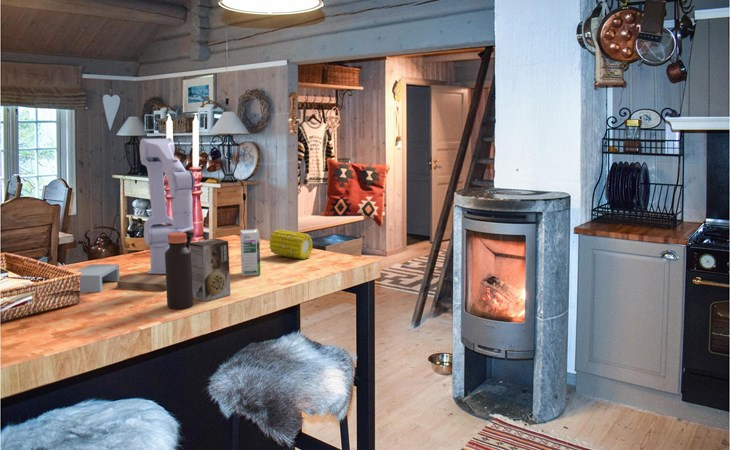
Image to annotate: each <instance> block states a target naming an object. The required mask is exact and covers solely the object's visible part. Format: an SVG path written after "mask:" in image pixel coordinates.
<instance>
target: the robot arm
mask: <svg viewBox="0 0 730 450" xmlns="http://www.w3.org/2000/svg"><path fill="white" fill-rule="evenodd" d="M175 149H176V148H175V142H174V140H173V139H172V138H171V137H168V138H141V140H140V141H139V157H140V163H141V165H143V166H145V167H146V170H147V178H148V186H149V197H150V198H149V199H150V209H151V216H150V217H149V218H148V219H146V221H145V222H143V223H144V224H143V240H144V242H145V244H146V245H147V246H149V256H150V257H149V258H150V269H149V270H148V271H147V272H146V274H147V275H148V274H150V275H151V274H153V275H157V274H158V275H159V274H160V275H166V269H165V252H166V251H167V250H168V249H169V244H168V234H170V233H177V232H181V233H186V234H187V243H186V247H187V248H188V249H189V250H190V243H192V240H193V237H194V236H195V232H194V231H192V230H194V228H195V227H194V222H193V221H194V219H193V217H194V216H193V196H192V195H193V193H192V192H193V191H194V189H195V177H194V173H193V171H191V170H186V168H185V167H184V165H183V163H182V162H181V161H180V159H178V158H177V157H175V156H174V155H175ZM164 174H165V175H166V177H167V183H168V188H169V195H170V198H171V206H172V207H171V208H172V210H171V211H172V217H170V216H169V215H168V212H167V201H166V192H165V190H166V189H165V181H164V180H165V179H164ZM164 224H165V225H164Z"/></svg>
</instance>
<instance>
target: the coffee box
mask: <svg viewBox="0 0 730 450" xmlns="http://www.w3.org/2000/svg"><path fill="white" fill-rule="evenodd" d="M190 251H191V264H192V289H193V299H197V300H200V301H203V302H208V301H212V300H216V299H219V298H224V297H227V296H230V295H231V276H230V275H231V274H230V252H229V241H228V240H224V239H221V238H216V237H215V238H210V239H205V240H198V241H192V242H191V243H190Z"/></svg>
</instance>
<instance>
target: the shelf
mask: <svg viewBox="0 0 730 450" xmlns="http://www.w3.org/2000/svg"><path fill="white" fill-rule="evenodd" d="M76 271H77V272H81V273H82V276H80V278H79V280H80V292H79V293H101V292H102V291H103V282H117V281H120V280H121V279H120V265H119V264H116V263H115V264H106V263H105V264H102V263H101V264H97V263H94V264H93V263H92V264H88V265H87V266H84V267H83V268H80V269H79V270H76Z"/></svg>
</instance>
